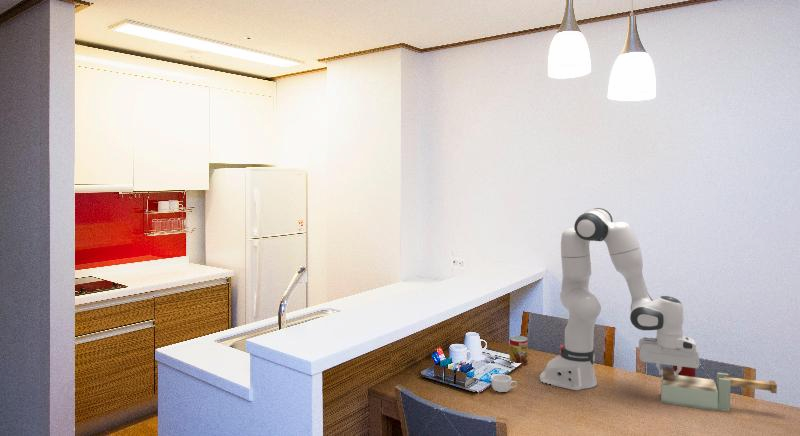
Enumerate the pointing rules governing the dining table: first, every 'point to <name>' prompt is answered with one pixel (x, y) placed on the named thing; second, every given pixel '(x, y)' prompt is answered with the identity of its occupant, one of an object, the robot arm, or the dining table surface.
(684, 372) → the canned food
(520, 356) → the canned food
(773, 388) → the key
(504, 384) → the teacup
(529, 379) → the dining table surface
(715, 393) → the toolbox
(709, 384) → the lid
